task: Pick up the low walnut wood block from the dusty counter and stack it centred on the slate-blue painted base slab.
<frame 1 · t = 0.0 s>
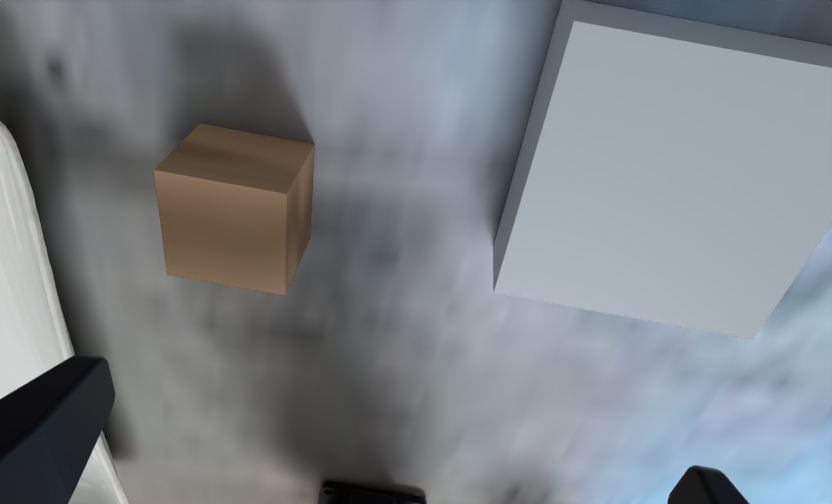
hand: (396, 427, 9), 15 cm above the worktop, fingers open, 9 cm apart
base slab: (656, 163, 22), on the worktop
walnut block: (259, 182, 24), on the worktop
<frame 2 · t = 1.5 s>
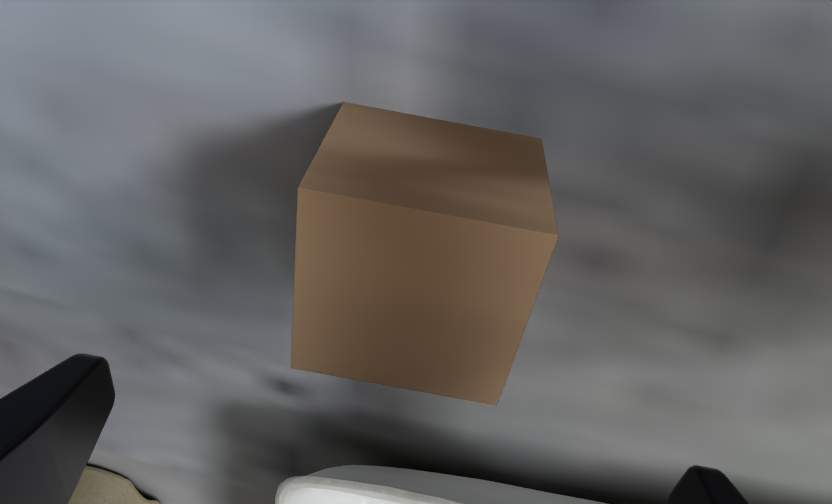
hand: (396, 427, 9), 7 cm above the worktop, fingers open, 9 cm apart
walnut block: (426, 203, 15), on the worktop
flower pot: (100, 499, 24), on the worktop
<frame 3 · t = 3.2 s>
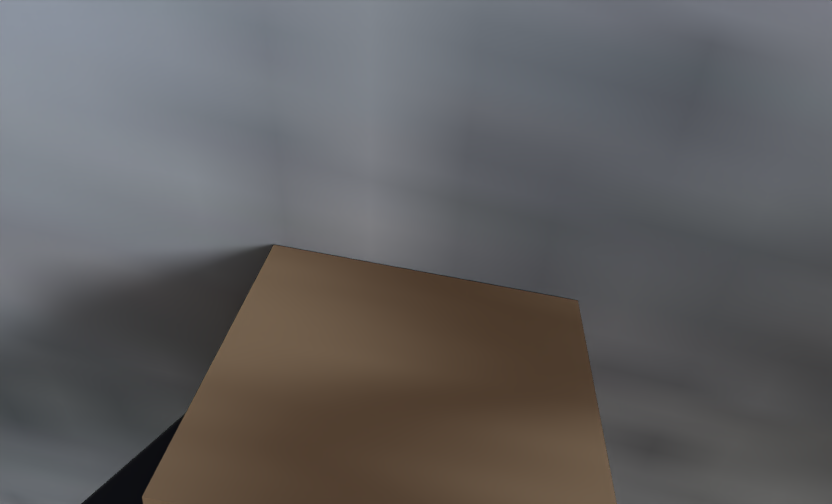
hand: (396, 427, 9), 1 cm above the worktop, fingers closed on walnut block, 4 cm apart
walnut block: (404, 376, 10), on the worktop, touching gripper
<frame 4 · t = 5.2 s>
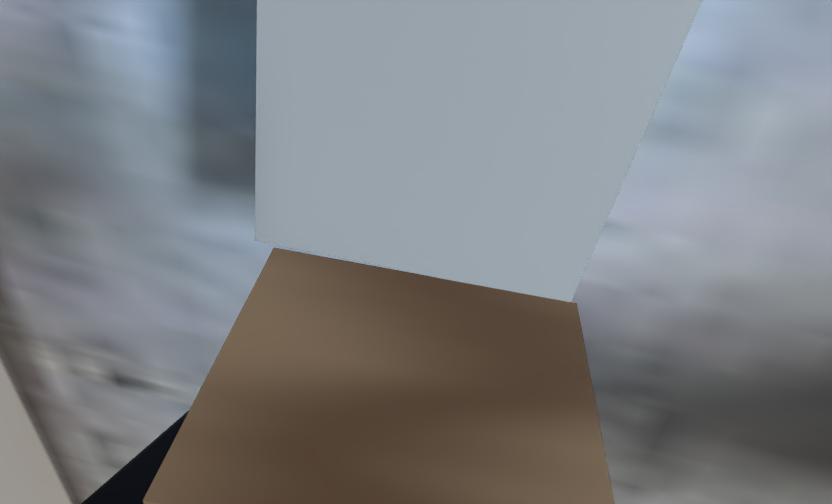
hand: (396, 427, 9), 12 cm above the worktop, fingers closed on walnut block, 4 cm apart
base slab: (451, 84, 18), on the worktop
walnut block: (404, 378, 10), point 11 cm above the worktop, touching gripper
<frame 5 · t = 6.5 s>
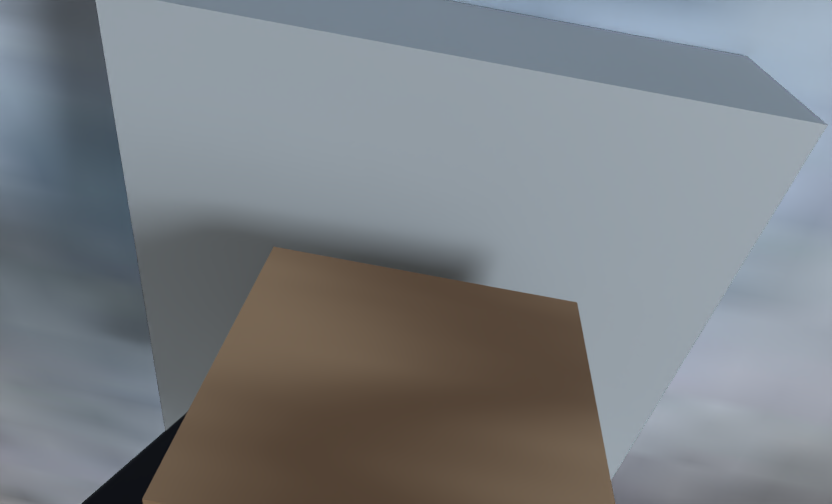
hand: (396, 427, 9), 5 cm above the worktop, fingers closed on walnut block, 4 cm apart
base slab: (423, 235, 13), on the worktop
walnut block: (404, 377, 10), point 4 cm above the worktop, touching gripper
when the fingers open (5 cm above the worktop, at t = 7.3 s): walnut block stays where it is, resting on base slab.
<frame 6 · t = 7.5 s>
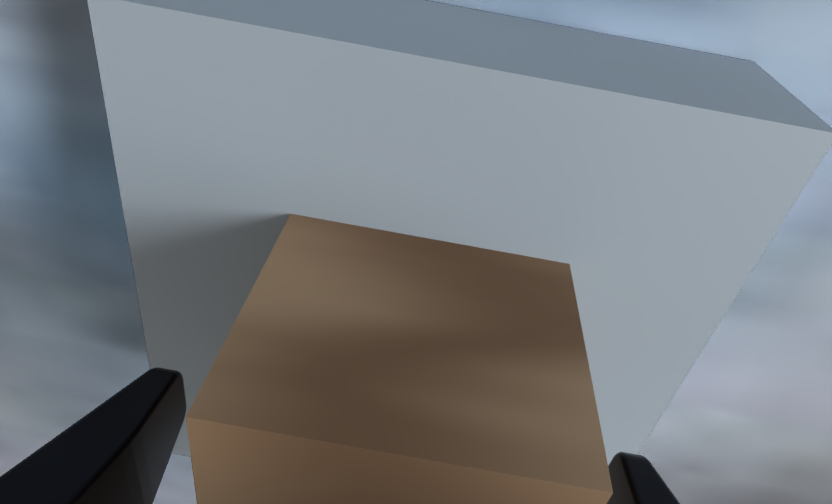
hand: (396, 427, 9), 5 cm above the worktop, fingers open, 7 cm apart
base slab: (423, 242, 13), on the worktop
walnut block: (410, 339, 11), point 3 cm above the worktop, touching base slab
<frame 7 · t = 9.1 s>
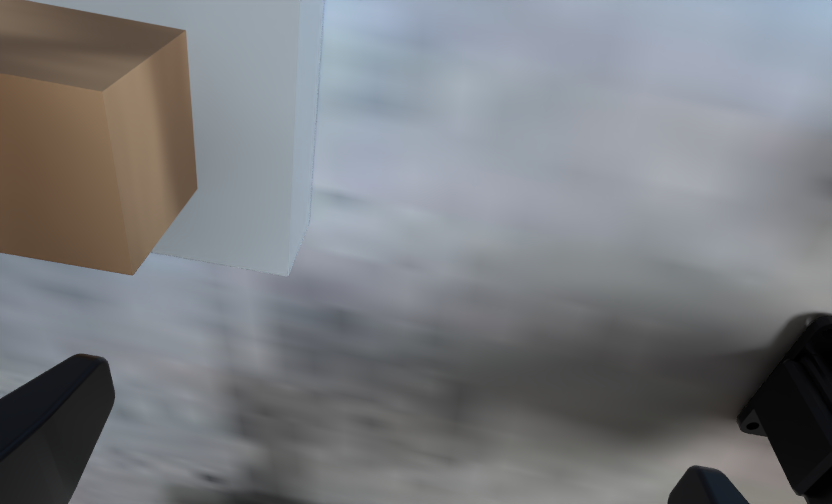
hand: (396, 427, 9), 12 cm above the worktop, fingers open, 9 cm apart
base slab: (155, 60, 18), on the worktop
walnut block: (107, 100, 15), point 3 cm above the worktop, touching base slab
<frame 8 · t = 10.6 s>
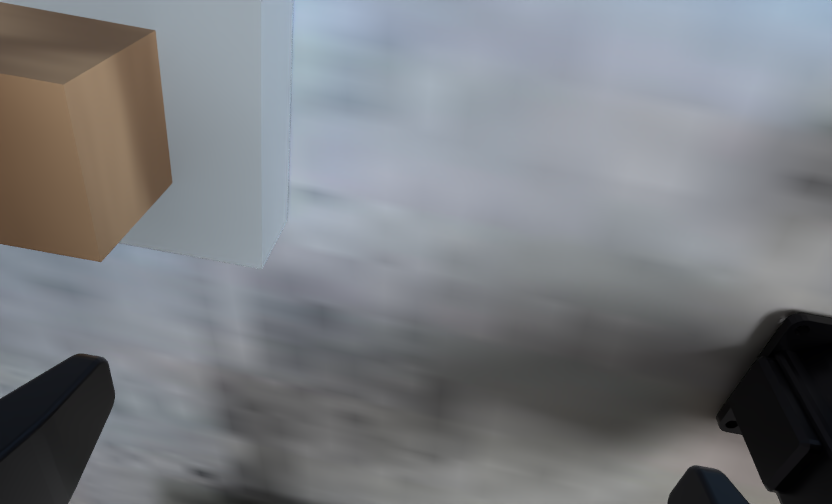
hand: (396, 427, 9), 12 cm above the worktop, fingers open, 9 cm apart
base slab: (136, 61, 19), on the worktop
walnut block: (84, 98, 16), point 3 cm above the worktop, touching base slab
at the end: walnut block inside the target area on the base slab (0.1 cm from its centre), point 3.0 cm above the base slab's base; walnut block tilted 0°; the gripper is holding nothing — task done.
